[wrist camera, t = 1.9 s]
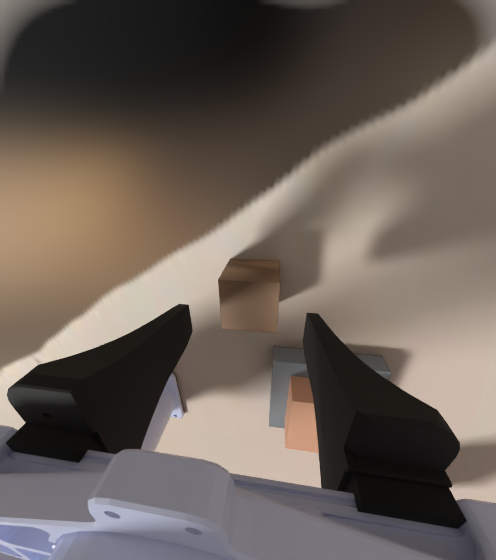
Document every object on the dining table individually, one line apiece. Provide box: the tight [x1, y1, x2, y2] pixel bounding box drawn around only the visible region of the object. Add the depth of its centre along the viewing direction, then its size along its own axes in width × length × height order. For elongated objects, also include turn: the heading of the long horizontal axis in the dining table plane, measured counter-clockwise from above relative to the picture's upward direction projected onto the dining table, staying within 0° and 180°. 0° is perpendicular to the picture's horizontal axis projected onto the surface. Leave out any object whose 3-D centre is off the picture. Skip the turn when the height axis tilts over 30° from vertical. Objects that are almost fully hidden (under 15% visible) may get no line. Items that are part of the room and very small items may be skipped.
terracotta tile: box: [285, 376, 319, 453], centre depth 19 cm, size 7×7×2 cm
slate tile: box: [269, 346, 392, 428], centre depth 22 cm, size 10×10×2 cm
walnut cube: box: [218, 259, 280, 333], centre depth 16 cm, size 4×4×4 cm
